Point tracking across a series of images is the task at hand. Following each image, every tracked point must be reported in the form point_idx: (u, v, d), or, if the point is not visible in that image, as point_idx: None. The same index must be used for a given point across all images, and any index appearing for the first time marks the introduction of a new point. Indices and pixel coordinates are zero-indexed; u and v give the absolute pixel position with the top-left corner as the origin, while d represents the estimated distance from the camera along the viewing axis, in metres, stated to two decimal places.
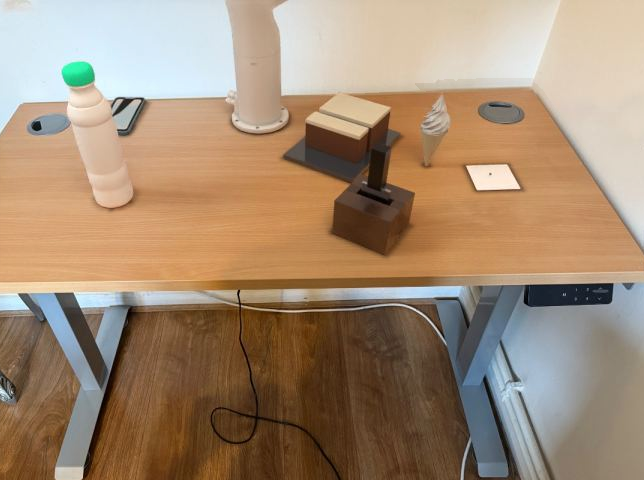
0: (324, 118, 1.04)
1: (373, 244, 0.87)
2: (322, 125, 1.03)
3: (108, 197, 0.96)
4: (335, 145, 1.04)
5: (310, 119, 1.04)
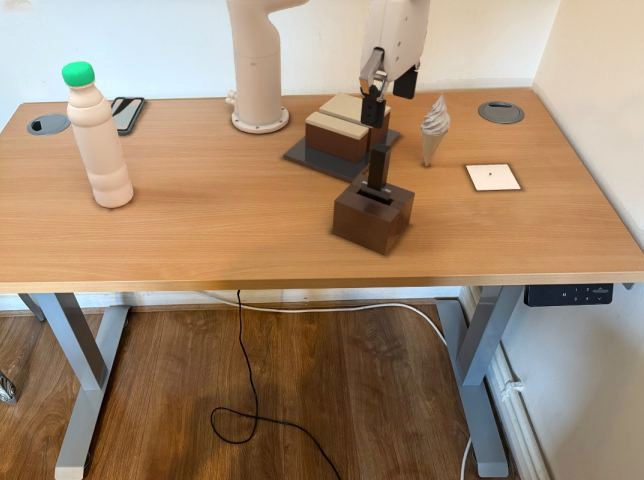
0: (324, 118, 1.04)
1: (373, 244, 0.87)
2: (322, 125, 1.03)
3: (108, 197, 0.96)
4: (335, 145, 1.04)
5: (310, 119, 1.04)
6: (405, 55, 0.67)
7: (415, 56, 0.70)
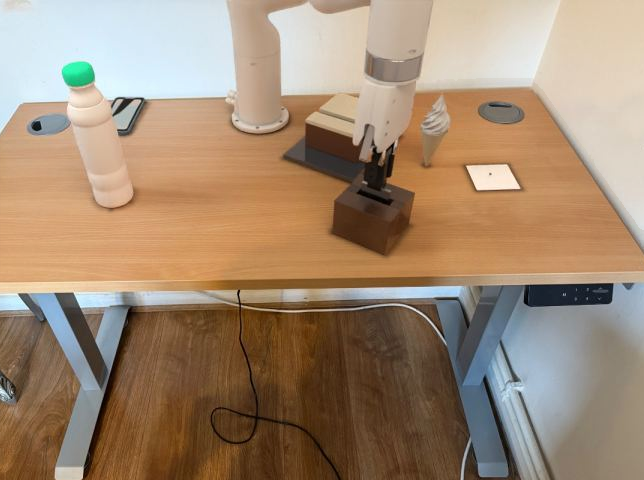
0: (324, 118, 1.04)
1: (373, 244, 0.87)
2: (322, 125, 1.03)
3: (108, 197, 0.96)
4: (335, 145, 1.04)
5: (310, 119, 1.04)
6: (393, 130, 0.74)
7: (403, 127, 0.78)
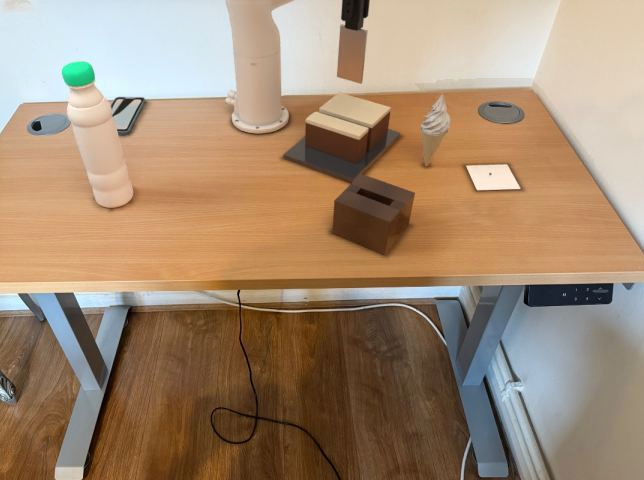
0: (324, 118, 1.04)
1: (373, 244, 0.87)
2: (322, 125, 1.03)
3: (108, 197, 0.96)
4: (335, 145, 1.04)
5: (310, 119, 1.04)
6: None
7: None
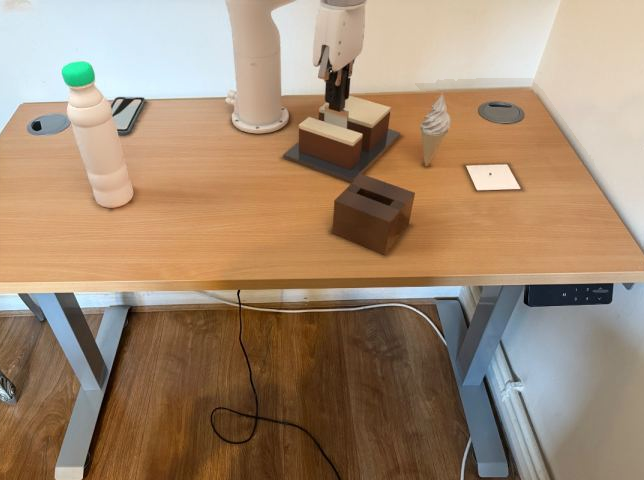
0: (318, 124, 1.03)
1: (373, 244, 0.87)
2: (315, 131, 1.01)
3: (108, 197, 0.96)
4: (329, 151, 1.02)
5: (303, 125, 1.03)
6: (346, 51, 0.89)
7: (355, 52, 0.93)
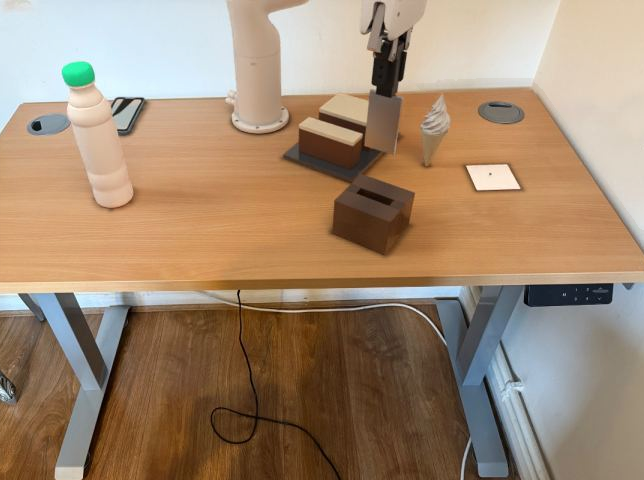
0: (318, 124, 1.03)
1: (373, 244, 0.87)
2: (315, 131, 1.01)
3: (108, 197, 0.96)
4: (329, 151, 1.02)
5: (303, 125, 1.03)
6: (407, 11, 0.64)
7: (417, 14, 0.68)
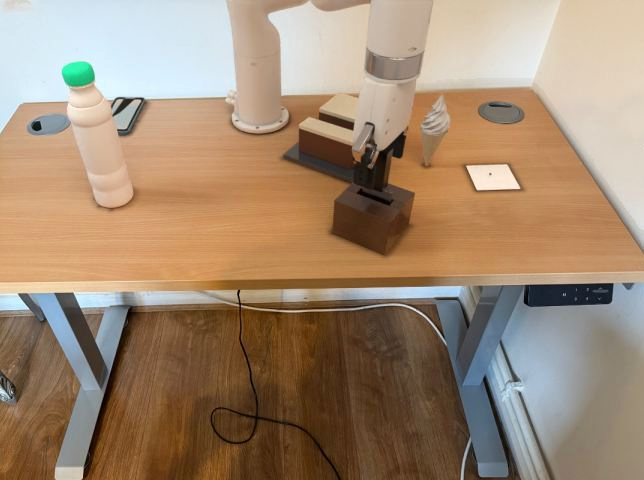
0: (318, 124, 1.03)
1: (373, 244, 0.87)
2: (315, 131, 1.01)
3: (108, 197, 0.96)
4: (329, 151, 1.02)
5: (303, 125, 1.03)
6: (393, 128, 0.74)
7: (403, 125, 0.77)
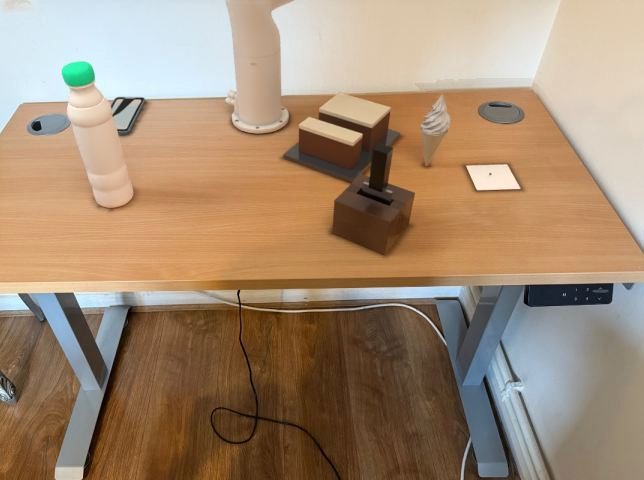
0: (318, 124, 1.03)
1: (373, 244, 0.87)
2: (315, 131, 1.01)
3: (108, 197, 0.96)
4: (329, 151, 1.02)
5: (303, 125, 1.03)
6: None
7: None
